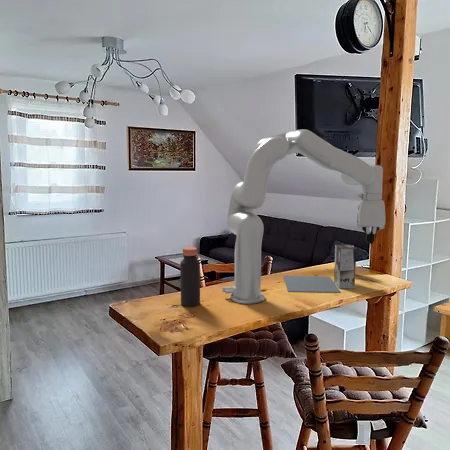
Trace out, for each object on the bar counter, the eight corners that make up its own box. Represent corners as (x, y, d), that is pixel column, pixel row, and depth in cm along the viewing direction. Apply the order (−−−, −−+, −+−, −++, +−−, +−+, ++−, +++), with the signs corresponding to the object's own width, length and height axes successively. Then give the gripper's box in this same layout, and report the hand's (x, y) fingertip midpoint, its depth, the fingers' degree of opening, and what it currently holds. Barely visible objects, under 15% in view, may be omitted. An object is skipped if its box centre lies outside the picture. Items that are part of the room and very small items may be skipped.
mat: (287, 291, 163) (287, 291, 163) (283, 276, 185) (283, 275, 184) (340, 292, 162) (340, 292, 162) (329, 277, 183) (329, 276, 183)
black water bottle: (203, 302, 151) (202, 247, 148) (194, 308, 145) (194, 251, 142) (186, 299, 153) (185, 245, 150) (177, 305, 147) (176, 249, 144)
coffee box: (355, 288, 167) (357, 248, 164) (338, 288, 167) (340, 248, 165) (349, 282, 176) (350, 244, 173) (333, 282, 176) (334, 244, 174)
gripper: (354, 198, 162) (353, 245, 165) (394, 198, 161) (392, 245, 164) (349, 196, 170) (348, 241, 173) (387, 196, 169) (385, 241, 172)
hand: (369, 243), depth 168 cm, fingers closed
